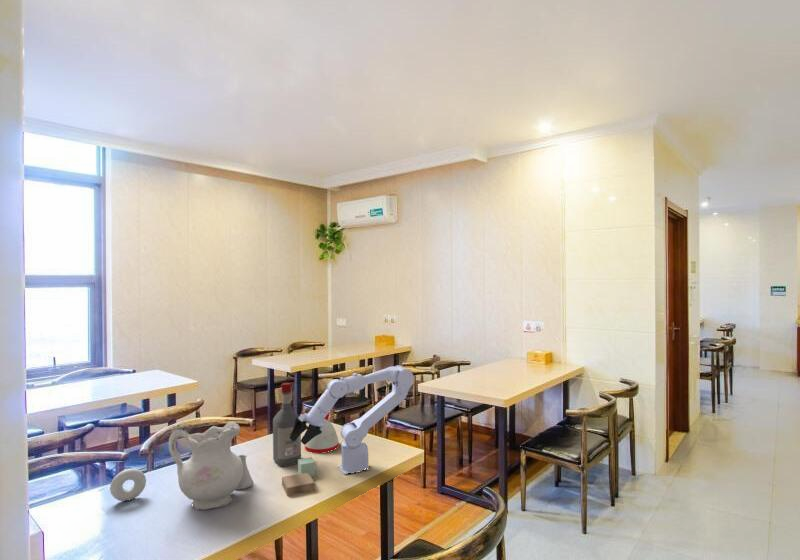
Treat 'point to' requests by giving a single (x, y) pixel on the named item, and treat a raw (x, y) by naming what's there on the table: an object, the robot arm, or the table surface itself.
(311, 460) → the sage cube
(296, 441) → the liquor
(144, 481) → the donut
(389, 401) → the robot arm
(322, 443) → the white bell
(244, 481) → the flask
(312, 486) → the walnut base
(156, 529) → the table surface
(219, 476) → the ceramic pitcher
